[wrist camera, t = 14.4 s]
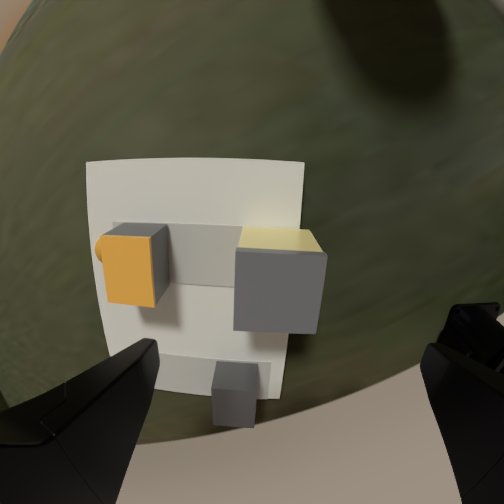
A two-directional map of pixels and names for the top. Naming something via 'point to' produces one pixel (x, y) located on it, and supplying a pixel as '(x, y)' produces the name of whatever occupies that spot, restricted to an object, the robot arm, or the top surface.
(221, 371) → the plain toggle
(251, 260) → the block
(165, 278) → the tagged toggle
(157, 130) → the top surface
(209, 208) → the panel
